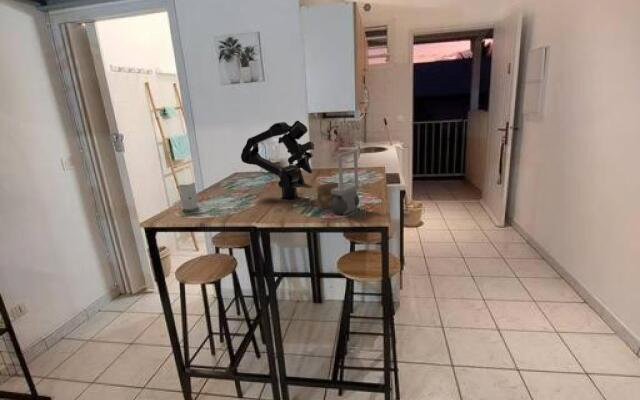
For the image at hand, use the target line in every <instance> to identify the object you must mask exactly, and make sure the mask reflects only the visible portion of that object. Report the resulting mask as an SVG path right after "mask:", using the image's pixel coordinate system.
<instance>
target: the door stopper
mask: <svg viewBox="0 0 640 400" xmlns="http://www.w3.org/2000/svg"><path fill="white" fill-rule="evenodd" d="M296 164H297V163H293V164H292V165H290V164H289V163H288V166H290V167H292V168H295V170H297V171H298V173H299V179H298V181H297V184H294V185H295V186H296V188H298V187H299V186H302V185H304V184H306V182H305V179H304V175H303V173H302V168H300V167H298V166H297V165H296Z"/></svg>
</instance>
